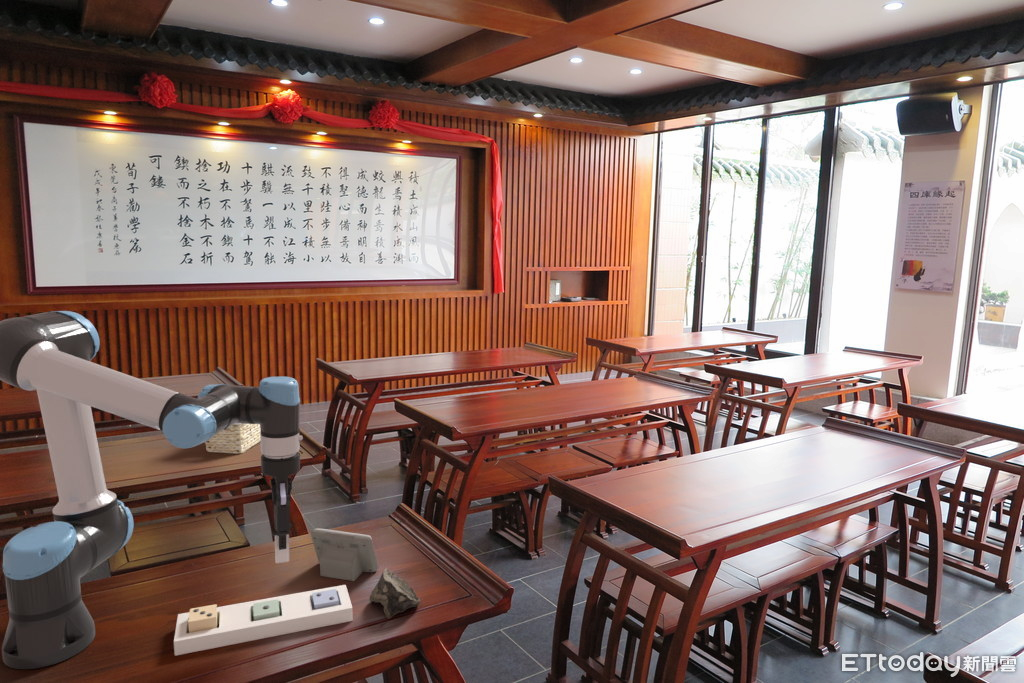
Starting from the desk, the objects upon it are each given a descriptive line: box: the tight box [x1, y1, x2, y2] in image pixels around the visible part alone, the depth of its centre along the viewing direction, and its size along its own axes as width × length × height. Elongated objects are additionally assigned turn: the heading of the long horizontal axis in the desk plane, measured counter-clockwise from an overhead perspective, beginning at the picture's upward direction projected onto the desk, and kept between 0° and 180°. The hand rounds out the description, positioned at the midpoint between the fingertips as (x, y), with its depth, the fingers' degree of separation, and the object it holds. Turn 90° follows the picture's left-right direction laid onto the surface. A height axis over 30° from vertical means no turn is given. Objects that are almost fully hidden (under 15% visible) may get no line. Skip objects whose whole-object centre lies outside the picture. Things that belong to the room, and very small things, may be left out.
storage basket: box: [204, 423, 261, 455], centre depth 255 cm, size 24×16×15 cm
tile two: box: [312, 589, 339, 610], centre depth 145 cm, size 5×5×4 cm
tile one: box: [253, 599, 281, 621], centre depth 140 cm, size 5×5×4 cm
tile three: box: [188, 603, 218, 633], centre depth 136 cm, size 5×5×4 cm
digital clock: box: [310, 527, 379, 582], centre depth 162 cm, size 16×9×11 cm, turn 64°
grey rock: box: [369, 568, 421, 619], centre depth 147 cm, size 11×9×10 cm
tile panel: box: [173, 584, 354, 656], centre depth 141 cm, size 34×10×3 cm, turn 112°
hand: (282, 560), depth 140 cm, fingers closed
